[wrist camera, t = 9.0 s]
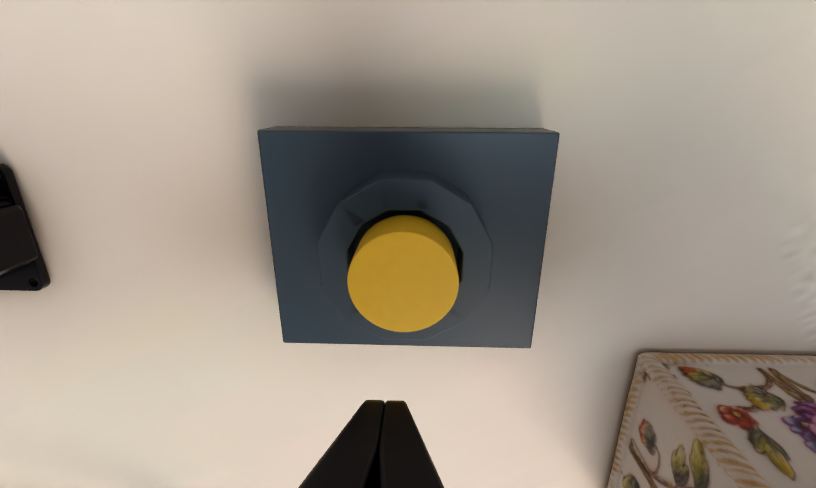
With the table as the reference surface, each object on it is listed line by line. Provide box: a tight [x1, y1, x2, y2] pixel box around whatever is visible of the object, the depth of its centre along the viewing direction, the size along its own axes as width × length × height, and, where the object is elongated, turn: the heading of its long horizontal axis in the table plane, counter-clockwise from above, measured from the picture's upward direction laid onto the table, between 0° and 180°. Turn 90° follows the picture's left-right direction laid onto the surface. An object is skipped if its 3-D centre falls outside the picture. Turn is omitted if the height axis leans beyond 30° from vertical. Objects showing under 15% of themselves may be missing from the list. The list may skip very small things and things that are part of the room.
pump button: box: [347, 215, 459, 332], centre depth 15 cm, size 4×4×2 cm
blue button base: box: [257, 126, 559, 348], centre depth 18 cm, size 12×10×4 cm
